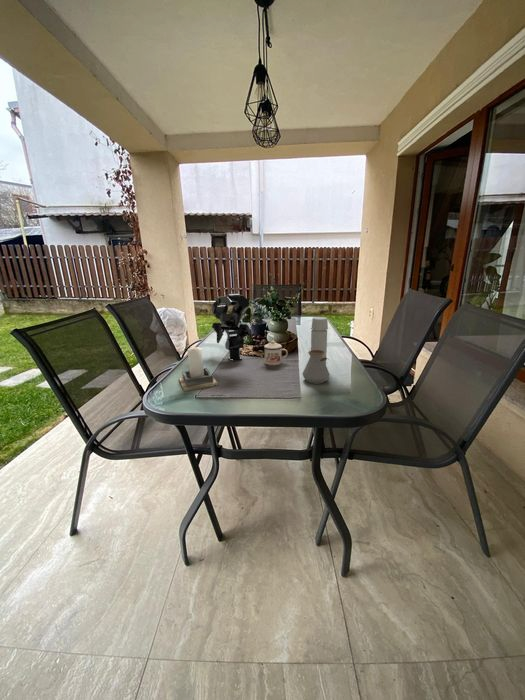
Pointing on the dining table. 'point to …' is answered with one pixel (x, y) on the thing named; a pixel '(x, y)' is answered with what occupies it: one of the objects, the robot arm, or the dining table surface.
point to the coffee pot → (316, 368)
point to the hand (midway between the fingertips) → (225, 343)
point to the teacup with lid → (273, 353)
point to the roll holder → (197, 381)
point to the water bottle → (319, 334)
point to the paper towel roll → (195, 362)
